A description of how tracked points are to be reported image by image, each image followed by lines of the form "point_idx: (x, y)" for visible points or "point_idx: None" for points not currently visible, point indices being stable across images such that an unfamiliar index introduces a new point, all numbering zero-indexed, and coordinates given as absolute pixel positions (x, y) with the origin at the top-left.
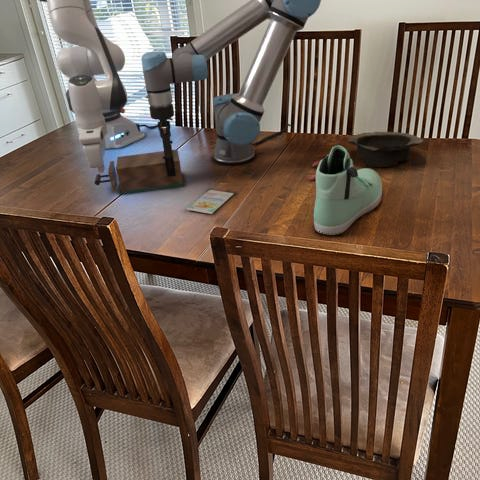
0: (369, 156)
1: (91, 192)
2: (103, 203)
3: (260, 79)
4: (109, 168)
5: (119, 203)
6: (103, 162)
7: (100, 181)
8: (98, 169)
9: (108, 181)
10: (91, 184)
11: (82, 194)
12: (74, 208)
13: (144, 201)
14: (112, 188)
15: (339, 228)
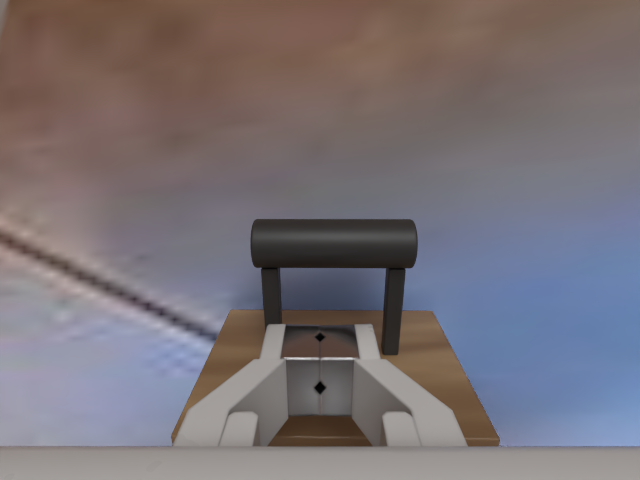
0: None
1: (321, 144)
2: (113, 245)
3: None
4: (274, 443)
5: (102, 336)
6: (368, 437)
7: (262, 273)
8: (262, 347)
9: (265, 329)
10: (484, 128)
11: (304, 69)
12: (49, 30)
13: None
14: (222, 327)
15: None
